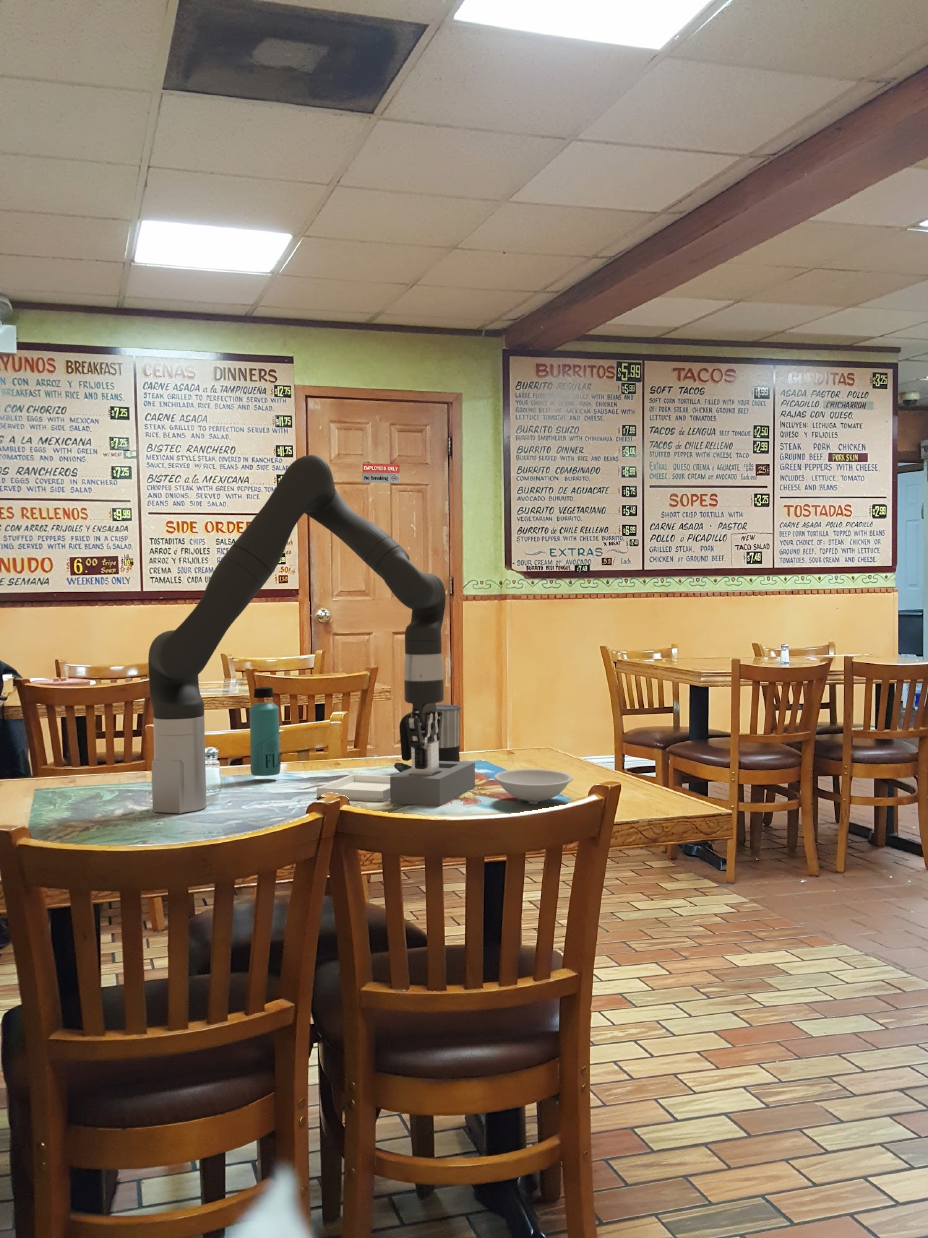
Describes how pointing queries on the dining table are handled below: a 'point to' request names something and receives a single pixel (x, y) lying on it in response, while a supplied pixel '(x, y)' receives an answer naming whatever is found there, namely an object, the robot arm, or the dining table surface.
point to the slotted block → (433, 784)
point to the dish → (533, 783)
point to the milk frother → (447, 738)
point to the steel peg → (428, 760)
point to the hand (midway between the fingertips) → (425, 766)
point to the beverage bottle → (264, 735)
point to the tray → (359, 787)
